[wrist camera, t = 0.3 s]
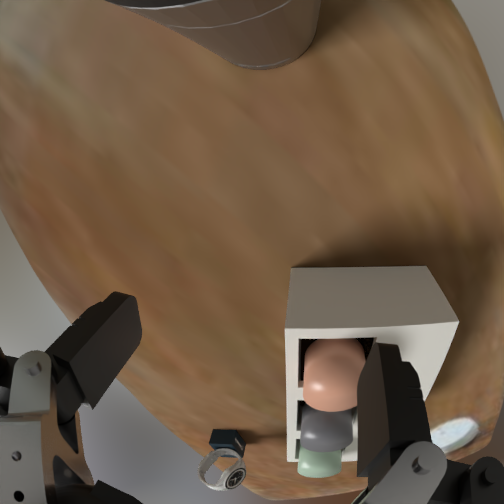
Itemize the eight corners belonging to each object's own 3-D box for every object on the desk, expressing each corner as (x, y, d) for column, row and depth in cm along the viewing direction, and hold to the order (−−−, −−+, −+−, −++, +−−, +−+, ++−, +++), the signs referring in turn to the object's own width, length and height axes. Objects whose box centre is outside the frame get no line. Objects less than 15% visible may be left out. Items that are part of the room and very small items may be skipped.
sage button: (300, 433, 30) (298, 462, 26) (344, 433, 29) (344, 462, 25) (299, 451, 32) (297, 477, 28) (338, 450, 31) (338, 477, 28)
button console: (291, 267, 30) (284, 328, 22) (426, 265, 27) (459, 321, 19) (292, 409, 40) (287, 461, 32) (385, 406, 37) (391, 457, 30)
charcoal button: (303, 395, 26) (300, 429, 23) (354, 394, 25) (357, 428, 22) (301, 421, 28) (299, 452, 25) (347, 420, 28) (348, 451, 24)
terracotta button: (305, 334, 23) (303, 372, 19) (368, 333, 22) (375, 371, 18) (304, 375, 25) (301, 411, 21) (359, 374, 24) (363, 410, 21)
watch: (256, 443, 47) (245, 495, 37) (215, 443, 49) (202, 490, 39) (246, 429, 45) (233, 485, 35) (203, 428, 47) (187, 479, 37)
